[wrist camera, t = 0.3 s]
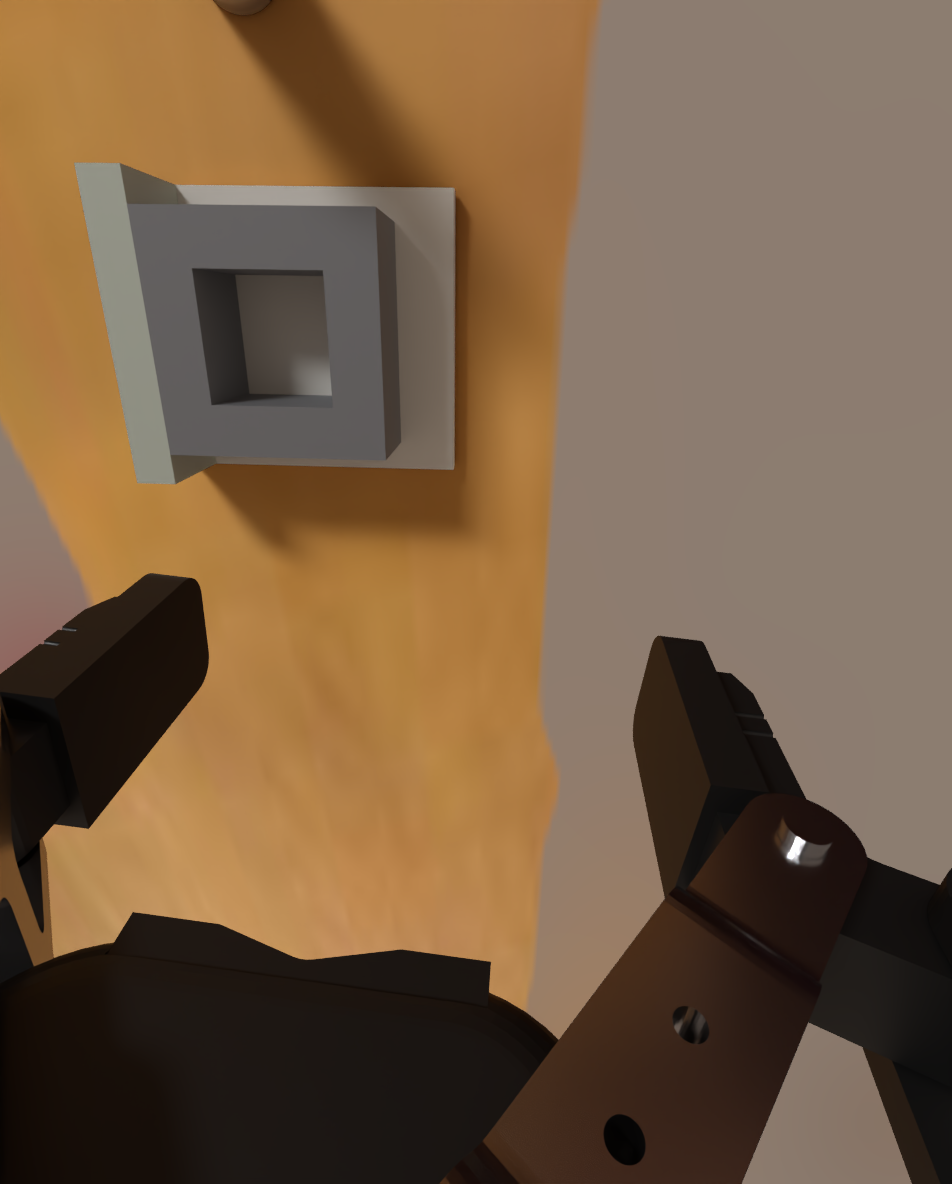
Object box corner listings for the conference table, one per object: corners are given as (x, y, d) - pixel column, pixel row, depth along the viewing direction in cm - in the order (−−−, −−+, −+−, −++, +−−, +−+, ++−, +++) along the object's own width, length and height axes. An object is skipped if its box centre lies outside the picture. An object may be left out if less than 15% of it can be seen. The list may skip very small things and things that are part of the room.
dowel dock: (146, 187, 33) (74, 162, 28) (455, 191, 32) (444, 165, 27) (190, 459, 39) (137, 483, 33) (454, 466, 38) (445, 491, 32)
